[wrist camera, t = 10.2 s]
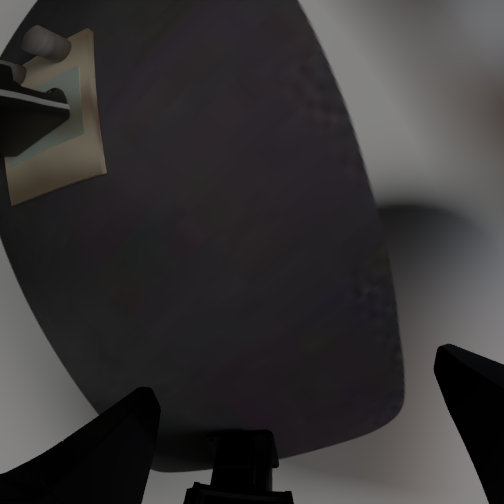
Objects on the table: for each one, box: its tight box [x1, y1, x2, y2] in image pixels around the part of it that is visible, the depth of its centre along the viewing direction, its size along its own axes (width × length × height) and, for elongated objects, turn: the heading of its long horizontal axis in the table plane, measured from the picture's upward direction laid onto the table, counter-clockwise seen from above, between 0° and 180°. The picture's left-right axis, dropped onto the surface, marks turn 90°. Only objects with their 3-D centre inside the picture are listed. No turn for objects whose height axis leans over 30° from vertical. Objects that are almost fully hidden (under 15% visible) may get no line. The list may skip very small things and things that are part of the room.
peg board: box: [0, 25, 107, 206], centre depth 16 cm, size 12×10×5 cm
